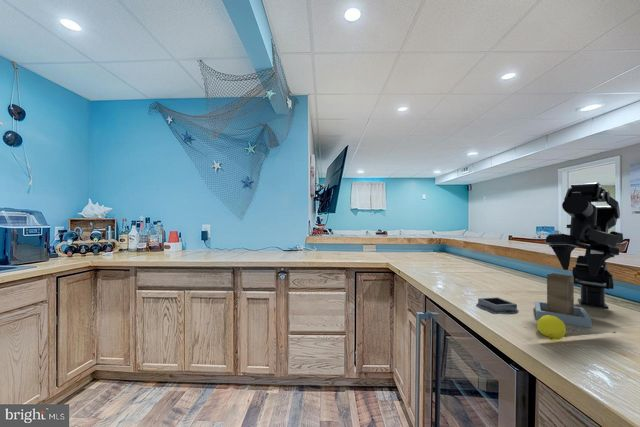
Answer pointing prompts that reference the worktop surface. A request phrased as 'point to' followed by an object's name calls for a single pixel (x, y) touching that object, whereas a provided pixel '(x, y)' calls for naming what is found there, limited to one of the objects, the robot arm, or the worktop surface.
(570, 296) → the post
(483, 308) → the base
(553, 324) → the lemon
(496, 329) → the worktop surface
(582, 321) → the tray
